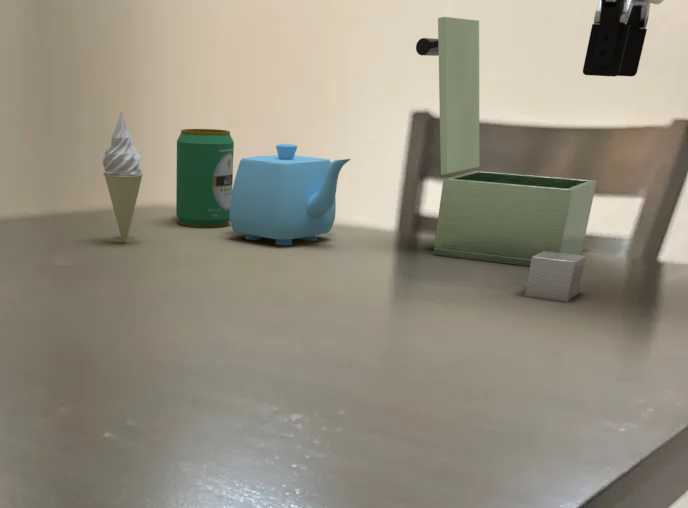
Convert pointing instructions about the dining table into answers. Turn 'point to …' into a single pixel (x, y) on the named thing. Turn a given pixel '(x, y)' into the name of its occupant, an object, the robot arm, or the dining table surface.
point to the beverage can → (204, 177)
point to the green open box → (512, 216)
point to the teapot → (284, 196)
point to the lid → (457, 91)
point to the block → (554, 275)
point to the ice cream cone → (123, 176)
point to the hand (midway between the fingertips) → (609, 75)
